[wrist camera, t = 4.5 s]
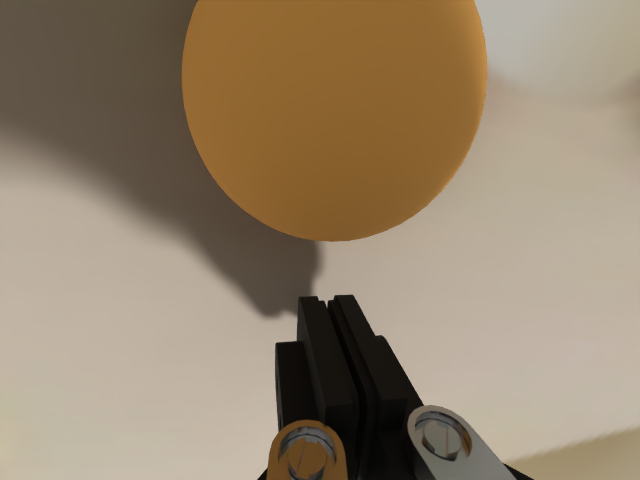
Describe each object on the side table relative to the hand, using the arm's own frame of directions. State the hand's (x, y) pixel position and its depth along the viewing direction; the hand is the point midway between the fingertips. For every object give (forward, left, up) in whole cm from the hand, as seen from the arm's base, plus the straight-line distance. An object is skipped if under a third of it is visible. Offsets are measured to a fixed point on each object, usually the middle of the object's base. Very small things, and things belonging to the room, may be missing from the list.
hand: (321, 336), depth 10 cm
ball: (+1, -7, +1) cm, 7 cm away
